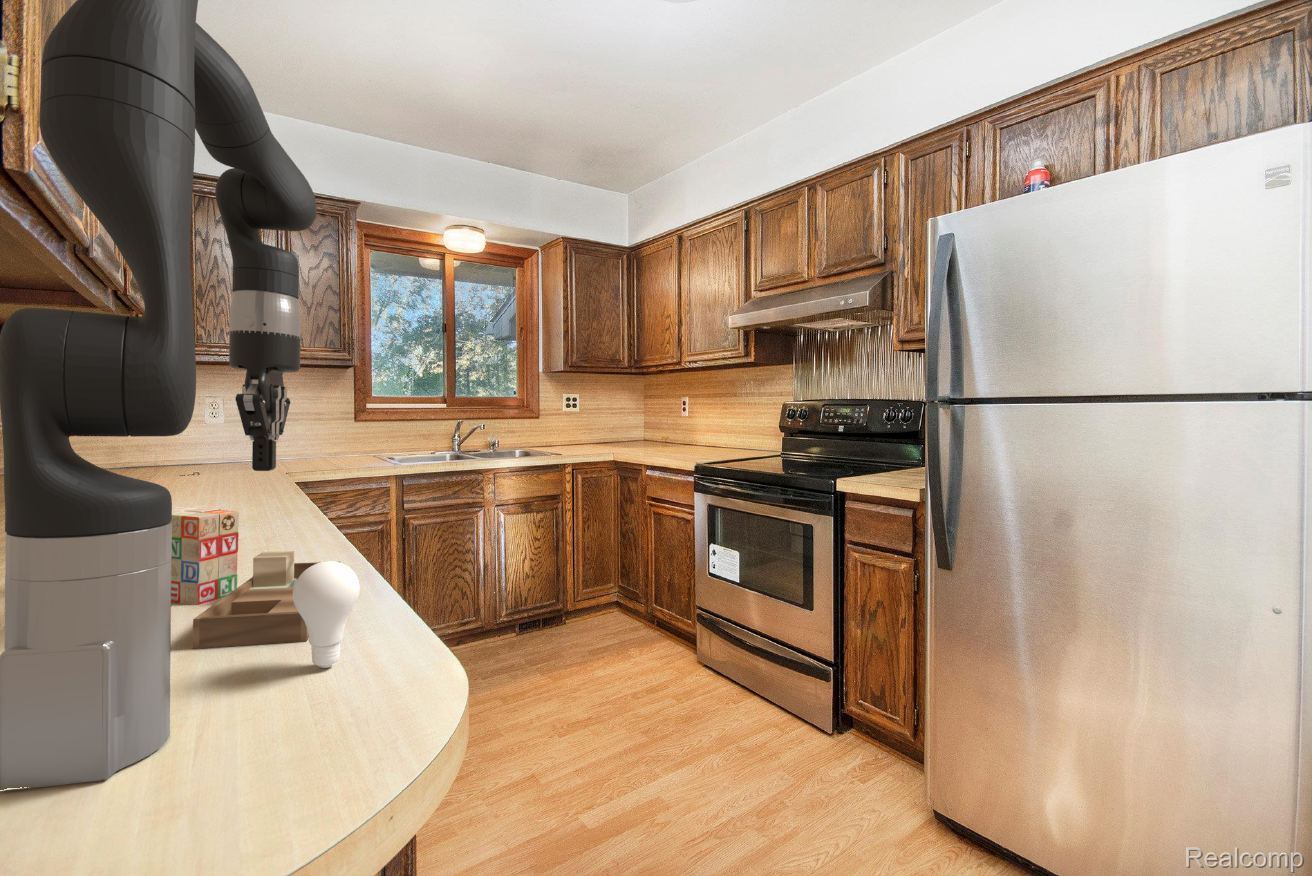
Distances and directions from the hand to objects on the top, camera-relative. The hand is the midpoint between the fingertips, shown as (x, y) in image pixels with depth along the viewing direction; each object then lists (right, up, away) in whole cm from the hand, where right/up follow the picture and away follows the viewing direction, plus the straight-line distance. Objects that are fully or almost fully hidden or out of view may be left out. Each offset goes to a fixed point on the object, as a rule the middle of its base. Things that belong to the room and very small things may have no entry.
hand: (264, 470), depth 77 cm
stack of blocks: (-22, -19, +11) cm, 31 cm away
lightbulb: (+15, -20, -14) cm, 29 cm away
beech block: (-4, -16, +9) cm, 19 cm away
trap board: (+1, -19, +2) cm, 19 cm away
